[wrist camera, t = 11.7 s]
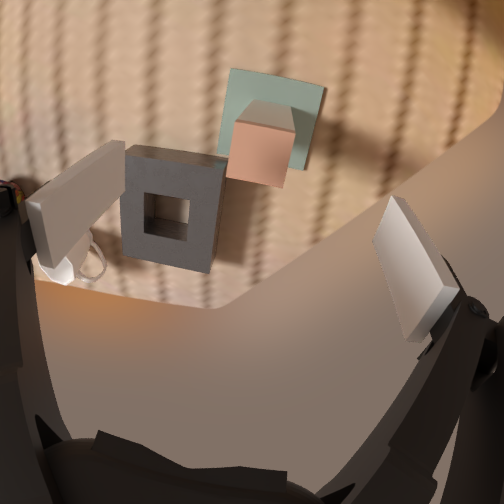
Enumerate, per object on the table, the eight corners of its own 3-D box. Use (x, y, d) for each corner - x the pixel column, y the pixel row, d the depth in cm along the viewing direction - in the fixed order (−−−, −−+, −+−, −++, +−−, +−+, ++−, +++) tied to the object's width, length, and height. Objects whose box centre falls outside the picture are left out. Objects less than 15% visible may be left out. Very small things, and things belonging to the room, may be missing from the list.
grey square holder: (134, 144, 35) (119, 154, 32) (229, 158, 35) (223, 169, 32) (134, 239, 43) (122, 255, 39) (215, 256, 43) (209, 274, 40)
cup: (70, 206, 41) (40, 235, 34) (122, 243, 43) (98, 277, 37) (60, 237, 44) (33, 267, 37) (108, 271, 47) (86, 305, 40)
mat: (231, 68, 29) (230, 68, 29) (323, 86, 29) (324, 87, 29) (217, 152, 35) (216, 153, 34) (302, 169, 35) (303, 170, 35)
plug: (253, 98, 31) (234, 121, 19) (290, 106, 31) (295, 133, 19) (247, 133, 33) (225, 176, 21) (282, 140, 33) (282, 188, 21)
